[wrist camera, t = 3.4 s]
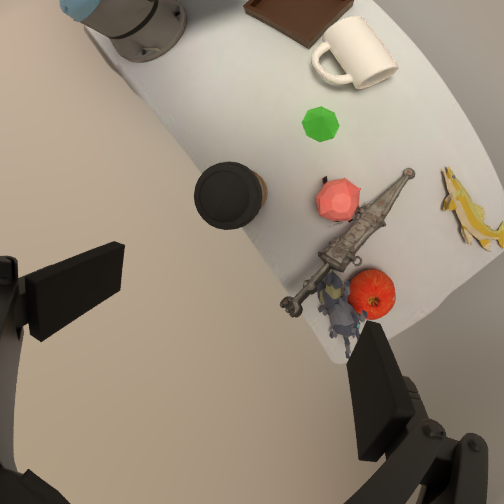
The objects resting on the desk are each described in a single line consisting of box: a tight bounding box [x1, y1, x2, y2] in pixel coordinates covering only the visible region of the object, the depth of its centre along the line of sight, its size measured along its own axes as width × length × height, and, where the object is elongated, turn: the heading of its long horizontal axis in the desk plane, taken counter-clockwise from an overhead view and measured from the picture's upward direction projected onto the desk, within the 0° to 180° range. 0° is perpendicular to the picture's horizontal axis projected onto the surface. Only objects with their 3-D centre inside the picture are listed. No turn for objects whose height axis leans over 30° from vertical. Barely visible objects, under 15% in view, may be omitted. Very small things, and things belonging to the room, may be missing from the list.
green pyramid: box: [302, 107, 339, 142], centre depth 41 cm, size 6×6×6 cm
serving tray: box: [243, 0, 354, 49], centre depth 38 cm, size 14×14×3 cm
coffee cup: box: [194, 162, 268, 230], centre depth 42 cm, size 8×8×15 cm
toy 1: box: [311, 269, 368, 359], centre depth 44 cm, size 15×4×15 cm
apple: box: [347, 269, 396, 320], centre depth 45 cm, size 8×8×8 cm
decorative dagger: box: [280, 168, 415, 317], centre depth 42 cm, size 7×2×30 cm
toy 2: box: [443, 167, 504, 252], centre depth 41 cm, size 20×3×10 cm
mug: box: [311, 16, 398, 89], centre depth 37 cm, size 12×10×8 cm
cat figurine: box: [315, 176, 366, 228], centre depth 41 cm, size 7×7×12 cm
